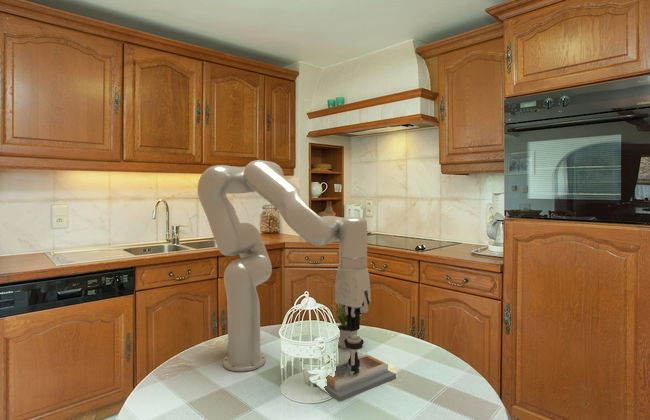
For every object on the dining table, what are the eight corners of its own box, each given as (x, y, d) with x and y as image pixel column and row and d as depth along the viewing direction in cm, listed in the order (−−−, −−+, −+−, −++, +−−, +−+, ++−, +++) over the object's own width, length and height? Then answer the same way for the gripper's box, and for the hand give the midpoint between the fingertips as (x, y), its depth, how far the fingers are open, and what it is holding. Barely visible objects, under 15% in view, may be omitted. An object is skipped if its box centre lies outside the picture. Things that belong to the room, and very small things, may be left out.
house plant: (372, 356, 124) (372, 304, 123) (328, 355, 124) (328, 304, 123) (368, 338, 138) (368, 292, 137) (328, 338, 138) (328, 292, 137)
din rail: (316, 378, 106) (316, 370, 106) (366, 361, 117) (366, 354, 117) (337, 392, 99) (337, 383, 99) (388, 372, 110) (388, 364, 110)
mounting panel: (309, 381, 107) (309, 377, 107) (363, 362, 119) (363, 358, 119) (339, 401, 97) (339, 396, 97) (395, 378, 109) (395, 373, 109)
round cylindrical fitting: (361, 380, 104) (361, 343, 104) (341, 378, 106) (341, 341, 105) (365, 369, 111) (365, 334, 110) (346, 367, 112) (346, 333, 112)
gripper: (325, 260, 110) (325, 325, 111) (361, 268, 98) (361, 341, 99) (346, 257, 115) (346, 320, 116) (382, 265, 103) (382, 334, 104)
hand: (353, 329), depth 108 cm, fingers closed
